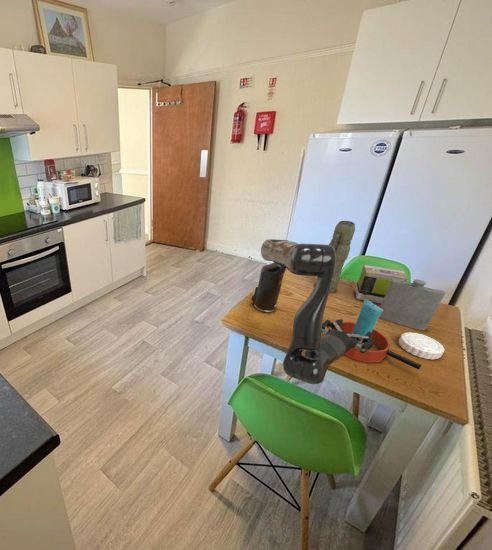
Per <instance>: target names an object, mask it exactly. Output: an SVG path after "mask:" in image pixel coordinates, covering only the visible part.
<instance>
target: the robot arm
mask: <svg viewBox="0 0 492 550" xmlns="http://www.w3.org/2000/svg"><path fill="white" fill-rule="evenodd" d="M260 254H261V257H262V259H263V260H264V261H267V262H272V263H268V264H264V265H263V266H262V267H261V269H260V275H259V279H258V283H257V286H256V287H255V289H254V294H252V295H251V301H252V304H251V306H253V307H254V308H255V309H256V310H257V311H259V312H262V313H267V314H268V313H274V312H275V311H276V310H277V306H278V304H279V302H278V300H279V297H280V292H281V289H282V284H283V280H284V277H285V273H286V270H288V272H290V273H291V274H294V275H296V276H301V277H316V281H315V284H314V288H313V290H312V292H311V293H310V295H309V296H308V297H307V299H306V300H305V301H304V302H303V303H302V304H301V305H300V307H299V308H298V310H297V311H296V313H295V315H294V318H293V324H292V337H291V340H290V344H289V347H288V350H287V352H286V354H285V356H284V358H283V362H282V368H283V371H284V373H285V374H286V375H287V376H288V377H290V378H292V379H296V380H299V381H301V382H304V383H307V384H310V385H320V384H321V383H323V382H324V380H325V377H326V374H327V371H328V369H329V367H330V366H331V365H332V364H334V362H336V361H337V360H340V358H342V357H343V356H345V355H344V354H345V353H346V352H347V351H349V350H350V349H351V348H354V347H356V348H358V349H360V352H361V353H365V352H366V351H368V350H371V349H372V348H373V346H374V345H375V343H374V342H375V341H374V340H372V339H371V338H372V334H371V333H372V332H368V333H366V334H365V335H364V336H360V335H359V334H351V333H348V332H346V331H345V330H341V329H340V327H339V326H340V325H341V324H342V322H344V319H342V318H340V319H336V320H334V321H331V320H330V319H326V320H324V314H325V310H326V304H327V303H328V302H327V301H328V298H329V294H330V293H329V291H330V287H331V283H332V279H333V274H334V270H335V264H336V253H335V249H334V248H333V247H332V246H331V245H329V244H323V243H299V242H296V241H292V240H288V239H277V238H276V239H272V238H270V239H269V238H268V239H265V240H264V242H263V243H262V244H261V248H260ZM328 328H330V329H328ZM322 333H324V334H323V335H322ZM355 338H356V339H355ZM361 339H363V340H361ZM303 351H304V355H303Z"/></svg>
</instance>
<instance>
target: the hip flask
mask: <svg viewBox="0 0 492 550" xmlns="http://www.w3.org/2000/svg"><path fill="white" fill-rule="evenodd" d="M426 284H427V282H426V281H425V280H422V279H417V278H416V279H413V282H409V281H407V282H405V281H400V280H397V279H392V281H391V283H390V285H389V287H388V290H387V292H386V294H385V296H384V299H383V301H382V303H381V304H380V306H379V307H380V308H381V309H383V311H382V313H381V315H380V317H379V318H380V319H383V320H385V321H388V322H391V323H393V324H397V325H401V326H404V327H407V328H411V329H414V330H419V331H426V329H428V328H427V327H428V326H429V324H430V322H431V320H432V319H433V317H434V315H435V313H436V311H437V310H438V308H439V306H440V304H441V302H442V300H443V299H444V296H445V295H446V291H444V290H441V289H437V288H432V287H428V286H426Z"/></svg>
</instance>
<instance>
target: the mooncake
mask: <svg viewBox="0 0 492 550" xmlns="http://www.w3.org/2000/svg"><path fill="white" fill-rule="evenodd" d="M398 345H399V346H400V347H401V349H403V350H405V352H406V353H410V355H412V356H416V357H418V358H421V359H425V360H438V359H441V358H442V356H443V354H444V352H445V347H444V346H443V344H441V342H439V341H437V340H436V339H435V338H432V337H430V336H428V335H425V334H423V333H418V332H413V331H412V332H411V331H408V332H404V333H402V334H401V335H400V337H399V338H398Z"/></svg>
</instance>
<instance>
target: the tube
mask: <svg viewBox="0 0 492 550" xmlns="http://www.w3.org/2000/svg"><path fill="white" fill-rule="evenodd" d="M382 311H383V309H381V308H380V306H378V305H376V303H374V302H370V301H369V300H367V299H365V300H363V303H362V306H361V308H360V311H359V314H358V317H357V320H356V322H355V323H356V325H355V327H354V330H353V333H352V334H359V335H360V336H364V335H365V334H366V333H368V332H372V330H373V329H375V326H376V324H377V322H378V321H379V318H380V315H381V313H382ZM355 339H356V338H355ZM361 340H363V339H361Z"/></svg>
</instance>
